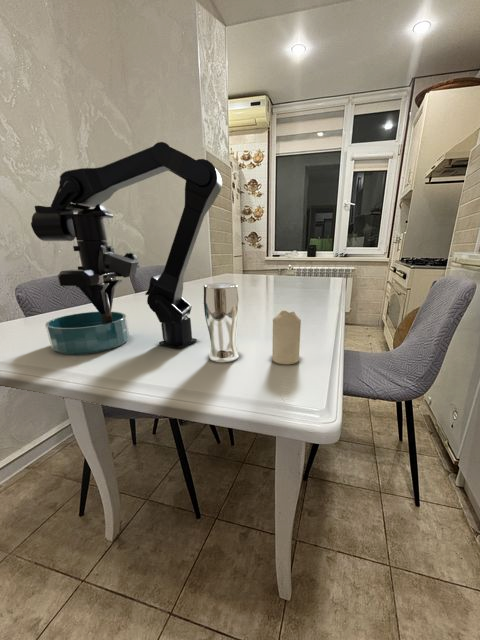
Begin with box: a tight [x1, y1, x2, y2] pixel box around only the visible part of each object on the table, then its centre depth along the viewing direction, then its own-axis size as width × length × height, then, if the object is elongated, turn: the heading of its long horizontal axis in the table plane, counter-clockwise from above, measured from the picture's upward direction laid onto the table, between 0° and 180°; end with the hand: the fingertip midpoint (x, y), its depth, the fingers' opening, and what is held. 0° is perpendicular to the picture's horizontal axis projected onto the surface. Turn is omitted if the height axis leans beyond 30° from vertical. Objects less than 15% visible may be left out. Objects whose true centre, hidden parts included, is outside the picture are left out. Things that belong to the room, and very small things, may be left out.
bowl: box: [45, 311, 130, 355], centre depth 69 cm, size 16×16×6 cm
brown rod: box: [101, 292, 113, 324], centre depth 68 cm, size 3×3×12 cm
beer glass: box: [203, 282, 240, 363], centre depth 59 cm, size 7×7×15 cm
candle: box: [271, 310, 302, 365], centre depth 58 cm, size 6×6×10 cm
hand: (105, 312), depth 67 cm, fingers closed on brown rod, 2 cm apart
